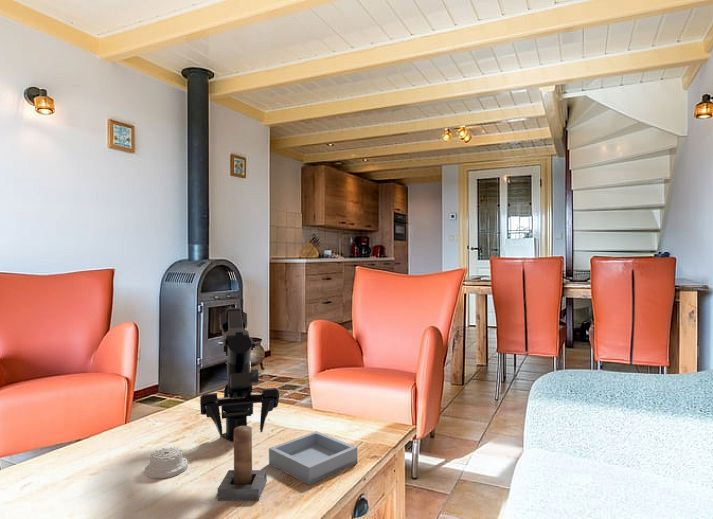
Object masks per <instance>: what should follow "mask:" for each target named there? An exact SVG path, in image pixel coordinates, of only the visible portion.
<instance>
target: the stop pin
mask: <svg viewBox="0 0 713 519" xmlns="http://www.w3.org/2000/svg"><path fill="white" fill-rule="evenodd" d="M252 430H253V428H252V427H251V426H250V425H247V426H239V427H236V428H234V441H233V470H234V485H252V470H253V441H252V440H253V438H252V437H253V434H252V432H253V431H252Z"/></svg>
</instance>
